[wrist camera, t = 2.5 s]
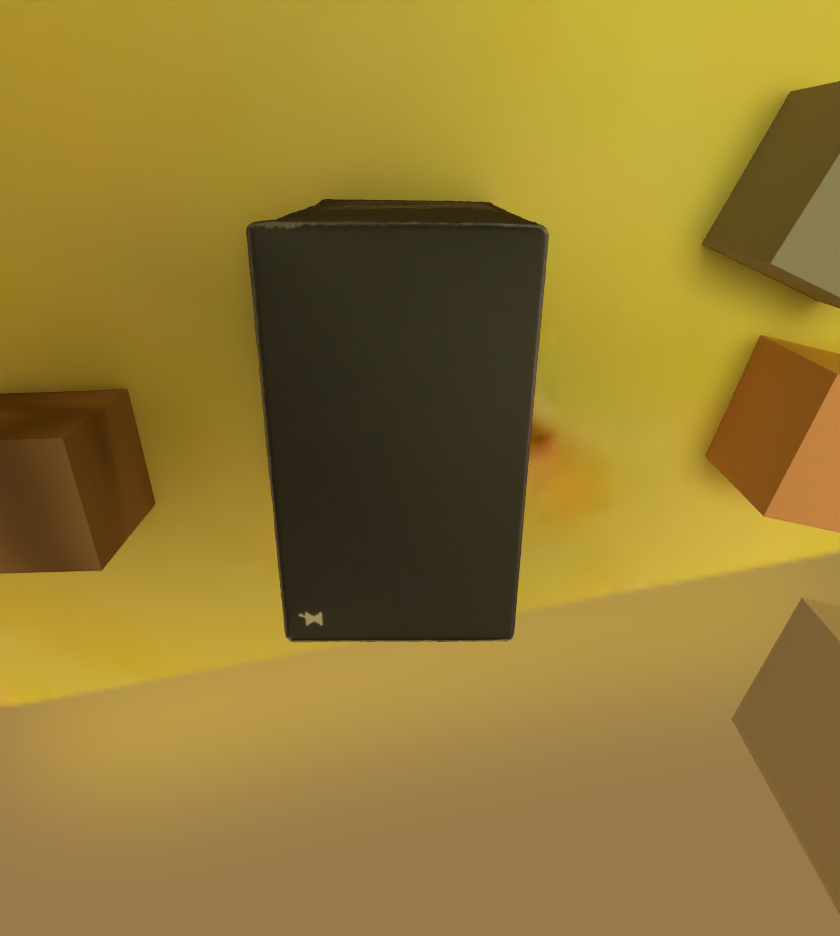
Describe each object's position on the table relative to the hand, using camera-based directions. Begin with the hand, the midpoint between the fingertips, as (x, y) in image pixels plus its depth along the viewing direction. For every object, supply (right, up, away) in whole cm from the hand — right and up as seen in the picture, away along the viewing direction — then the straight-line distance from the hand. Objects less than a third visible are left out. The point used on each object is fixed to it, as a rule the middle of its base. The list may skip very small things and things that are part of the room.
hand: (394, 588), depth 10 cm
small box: (0, +6, +14) cm, 15 cm away
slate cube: (+13, +11, +11) cm, 21 cm away
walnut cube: (-13, +3, +16) cm, 21 cm away
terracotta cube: (+15, +4, +15) cm, 21 cm away
